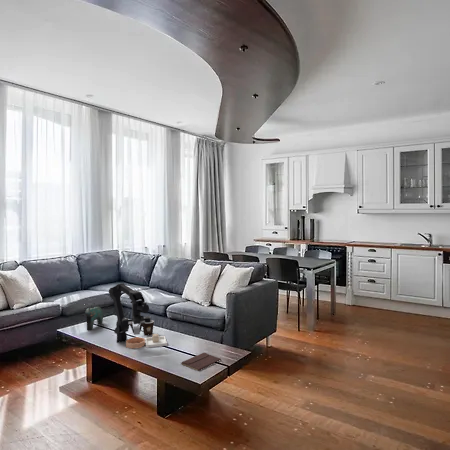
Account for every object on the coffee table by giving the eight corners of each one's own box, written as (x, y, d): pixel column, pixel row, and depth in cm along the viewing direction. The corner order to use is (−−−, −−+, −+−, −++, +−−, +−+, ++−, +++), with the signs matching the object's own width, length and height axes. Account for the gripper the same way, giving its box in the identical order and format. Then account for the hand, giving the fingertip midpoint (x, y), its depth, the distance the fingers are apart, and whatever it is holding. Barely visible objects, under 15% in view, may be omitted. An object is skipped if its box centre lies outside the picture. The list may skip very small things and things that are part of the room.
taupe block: (152, 342, 257) (152, 336, 257) (152, 340, 262) (152, 334, 262) (158, 341, 258) (158, 335, 258) (158, 339, 263) (157, 333, 263)
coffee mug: (155, 332, 279) (155, 320, 279) (152, 336, 270) (151, 323, 270) (140, 332, 280) (140, 319, 280) (136, 336, 272) (136, 323, 271)
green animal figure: (90, 331, 285) (90, 305, 284) (83, 330, 286) (82, 305, 285) (104, 323, 304) (104, 299, 303) (97, 322, 305) (97, 299, 305)
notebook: (221, 361, 227) (221, 358, 227) (198, 372, 212) (198, 368, 212) (203, 355, 237) (203, 352, 237) (181, 365, 222) (181, 361, 222)
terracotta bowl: (126, 349, 246) (126, 344, 245) (126, 343, 258) (126, 338, 258) (145, 347, 249) (145, 342, 249) (144, 341, 261) (144, 336, 261)
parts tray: (146, 348, 248) (146, 345, 248) (145, 340, 262) (145, 337, 262) (167, 346, 252) (166, 343, 252) (164, 338, 266) (164, 335, 266)
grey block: (133, 334, 248) (133, 328, 248) (133, 332, 253) (133, 326, 252) (139, 334, 249) (139, 328, 249) (139, 332, 254) (139, 325, 254)
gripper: (122, 314, 240) (122, 338, 241) (151, 312, 245) (151, 335, 246) (122, 310, 251) (122, 332, 251) (149, 308, 256) (149, 329, 257)
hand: (136, 332), depth 251 cm, fingers closed on grey block, 4 cm apart
